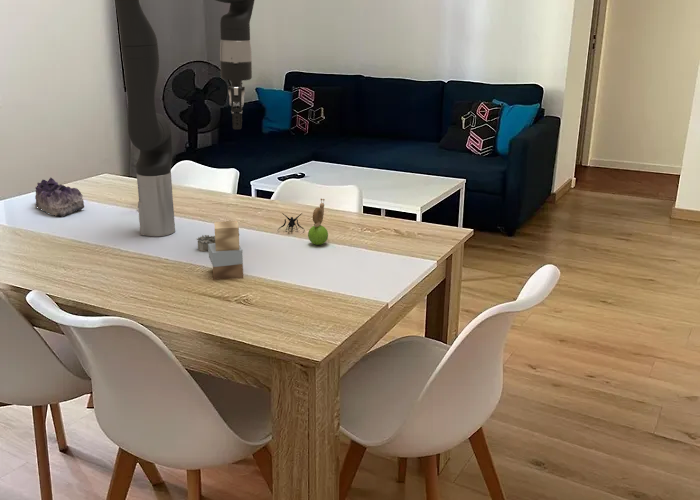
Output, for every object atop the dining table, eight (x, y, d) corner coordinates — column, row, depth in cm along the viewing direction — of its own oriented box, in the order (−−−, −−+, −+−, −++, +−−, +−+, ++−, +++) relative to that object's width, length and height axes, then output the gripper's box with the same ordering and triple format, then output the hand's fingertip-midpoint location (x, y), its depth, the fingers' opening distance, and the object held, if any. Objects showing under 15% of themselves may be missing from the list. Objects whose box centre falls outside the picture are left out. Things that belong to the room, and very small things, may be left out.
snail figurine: (332, 241, 199) (332, 199, 196) (323, 248, 194) (323, 205, 190) (313, 239, 201) (313, 197, 197) (305, 246, 195) (304, 203, 191)
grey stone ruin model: (241, 247, 195) (241, 233, 194) (229, 255, 189) (229, 241, 187) (207, 243, 198) (206, 229, 197) (194, 251, 191) (193, 236, 190)
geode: (21, 208, 229) (20, 176, 227) (56, 206, 238) (55, 175, 236) (53, 218, 216) (53, 184, 214) (89, 215, 225) (89, 183, 223)
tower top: (213, 267, 170) (212, 252, 169) (208, 257, 176) (208, 243, 175) (242, 264, 172) (242, 250, 171) (237, 254, 178) (236, 241, 177)
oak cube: (215, 251, 170) (214, 228, 168) (215, 243, 175) (214, 221, 173) (239, 249, 171) (238, 227, 169) (238, 242, 176) (237, 220, 174)
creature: (303, 238, 205) (305, 225, 212) (303, 222, 203) (305, 209, 209) (276, 238, 205) (279, 224, 212) (275, 222, 203) (278, 208, 209)
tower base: (213, 280, 172) (212, 266, 170) (213, 270, 178) (212, 256, 177) (243, 278, 173) (242, 264, 172) (241, 268, 179) (241, 255, 178)
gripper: (221, 56, 183) (223, 121, 188) (219, 61, 169) (221, 131, 174) (251, 57, 183) (252, 121, 189) (251, 62, 170) (252, 131, 175)
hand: (237, 126), depth 182 cm, fingers open, 8 cm apart
